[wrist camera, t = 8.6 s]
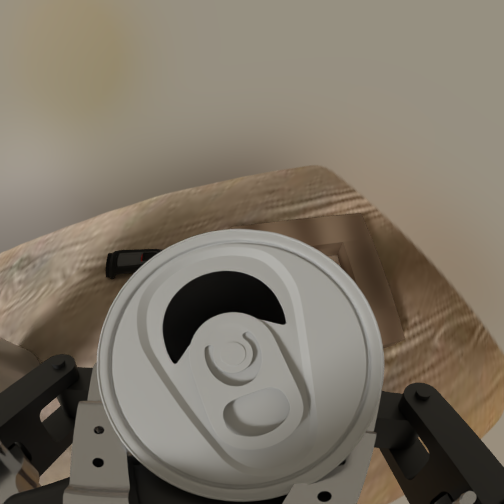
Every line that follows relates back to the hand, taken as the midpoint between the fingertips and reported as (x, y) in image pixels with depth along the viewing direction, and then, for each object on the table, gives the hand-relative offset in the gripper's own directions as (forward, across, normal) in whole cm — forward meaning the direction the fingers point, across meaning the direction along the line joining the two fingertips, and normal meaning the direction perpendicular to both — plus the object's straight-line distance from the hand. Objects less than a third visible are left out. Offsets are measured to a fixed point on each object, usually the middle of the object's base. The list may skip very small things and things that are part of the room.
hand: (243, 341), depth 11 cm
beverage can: (+3, 0, +5) cm, 6 cm away
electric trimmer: (+22, +13, +4) cm, 26 cm away
